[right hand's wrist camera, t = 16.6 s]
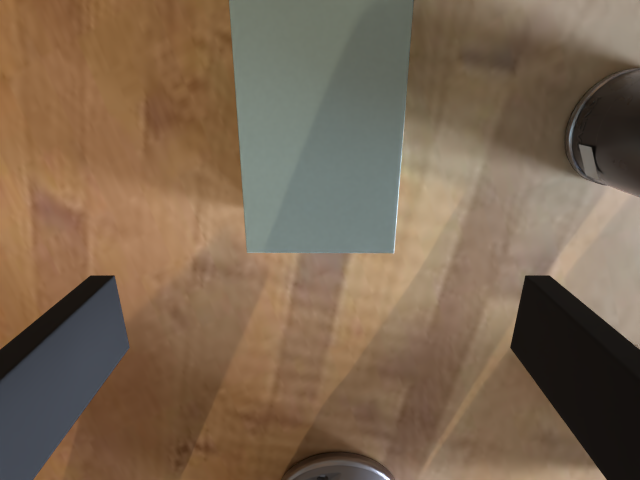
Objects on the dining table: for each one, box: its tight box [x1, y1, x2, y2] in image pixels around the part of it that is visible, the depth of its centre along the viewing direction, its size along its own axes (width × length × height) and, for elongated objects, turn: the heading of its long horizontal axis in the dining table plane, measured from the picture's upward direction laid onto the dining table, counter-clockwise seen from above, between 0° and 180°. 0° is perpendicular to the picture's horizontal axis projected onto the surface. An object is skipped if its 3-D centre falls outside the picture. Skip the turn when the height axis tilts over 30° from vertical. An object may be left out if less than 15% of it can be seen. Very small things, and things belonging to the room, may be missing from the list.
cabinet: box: [229, 0, 414, 253], centre depth 28 cm, size 21×10×9 cm, turn 0°
